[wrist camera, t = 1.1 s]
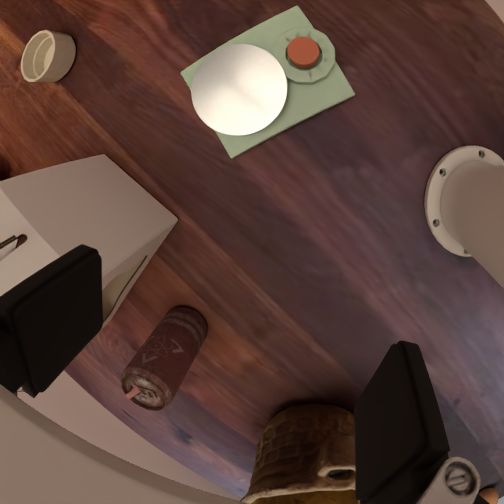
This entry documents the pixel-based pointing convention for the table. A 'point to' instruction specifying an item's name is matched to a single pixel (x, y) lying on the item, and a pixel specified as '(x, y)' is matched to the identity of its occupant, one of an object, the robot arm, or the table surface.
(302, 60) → the button
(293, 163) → the table surface
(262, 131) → the scale
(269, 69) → the scale plate
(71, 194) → the cardboard gift box
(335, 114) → the table surface
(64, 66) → the bowl
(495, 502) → the egg
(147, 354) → the can
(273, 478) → the ceramic vessel
